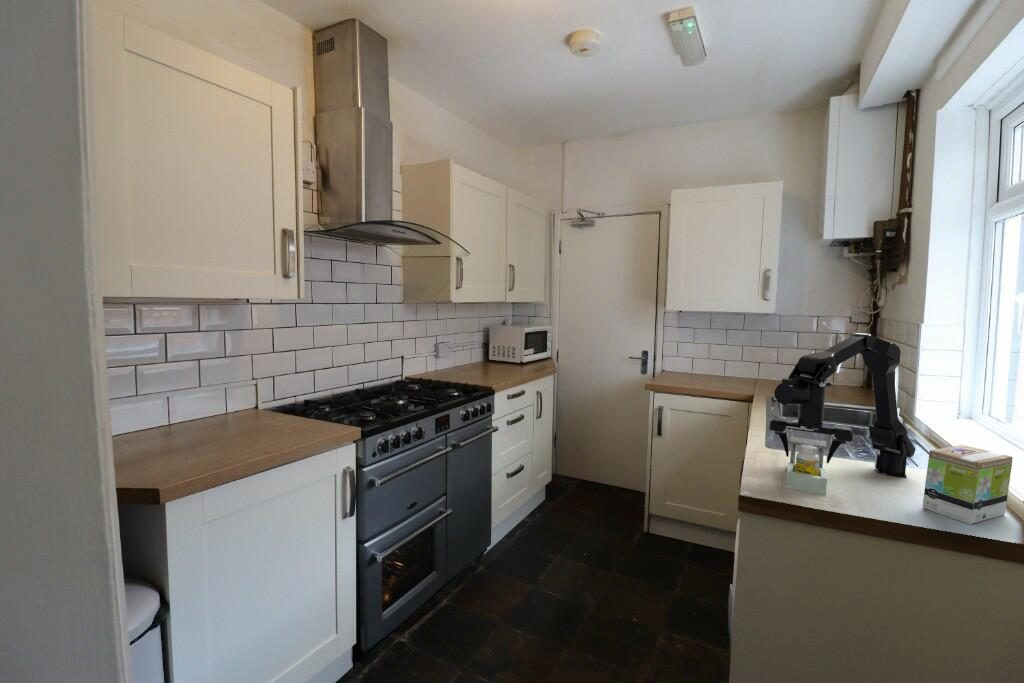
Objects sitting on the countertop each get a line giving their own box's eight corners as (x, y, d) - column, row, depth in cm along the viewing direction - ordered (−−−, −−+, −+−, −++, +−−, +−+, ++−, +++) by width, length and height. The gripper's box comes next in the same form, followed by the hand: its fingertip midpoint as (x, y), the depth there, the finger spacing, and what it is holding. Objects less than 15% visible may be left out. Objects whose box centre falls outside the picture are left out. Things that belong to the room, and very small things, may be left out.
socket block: (823, 472, 140) (824, 459, 140) (826, 495, 123) (827, 480, 123) (788, 466, 145) (789, 453, 145) (785, 487, 128) (786, 473, 128)
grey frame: (823, 469, 140) (825, 441, 140) (824, 475, 135) (826, 446, 135) (788, 463, 145) (790, 436, 144) (787, 468, 140) (789, 441, 139)
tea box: (973, 526, 108) (980, 462, 106) (920, 508, 117) (926, 449, 116) (1007, 515, 114) (1014, 454, 112) (954, 499, 123) (960, 442, 122)
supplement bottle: (821, 482, 130) (824, 447, 129) (811, 486, 127) (814, 451, 126) (800, 476, 134) (803, 442, 133) (790, 479, 131) (793, 445, 130)
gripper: (851, 402, 130) (846, 458, 132) (773, 394, 140) (770, 446, 141) (855, 409, 121) (850, 470, 122) (771, 400, 131) (767, 456, 132)
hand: (807, 459), depth 130 cm, fingers open, 9 cm apart
